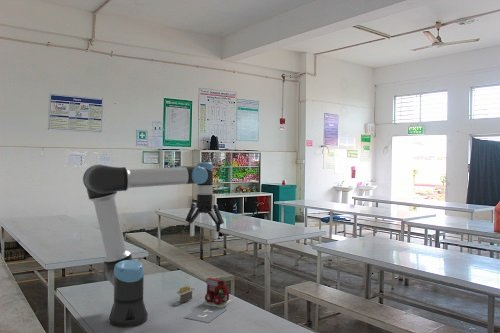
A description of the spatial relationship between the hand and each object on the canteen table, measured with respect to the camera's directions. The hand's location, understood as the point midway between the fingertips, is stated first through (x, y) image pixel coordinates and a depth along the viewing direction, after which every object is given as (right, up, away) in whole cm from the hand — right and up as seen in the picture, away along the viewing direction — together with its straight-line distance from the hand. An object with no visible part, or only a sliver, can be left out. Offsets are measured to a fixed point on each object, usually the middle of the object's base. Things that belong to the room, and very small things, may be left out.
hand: (204, 237), depth 199 cm
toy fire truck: (+7, -29, -9) cm, 31 cm away
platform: (-8, -29, -6) cm, 31 cm away
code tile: (+3, -29, -23) cm, 37 cm away
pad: (+7, -29, -9) cm, 31 cm away
